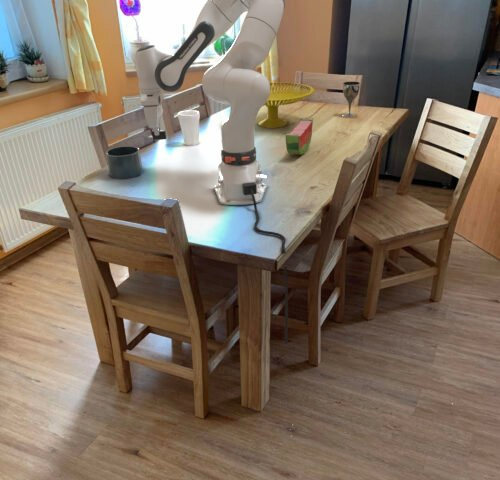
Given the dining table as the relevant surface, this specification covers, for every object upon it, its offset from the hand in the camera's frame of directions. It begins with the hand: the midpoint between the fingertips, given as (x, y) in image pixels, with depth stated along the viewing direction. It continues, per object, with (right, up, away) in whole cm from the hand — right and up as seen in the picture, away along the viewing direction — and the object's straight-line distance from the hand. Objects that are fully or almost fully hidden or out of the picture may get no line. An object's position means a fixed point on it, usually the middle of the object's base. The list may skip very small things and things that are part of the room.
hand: (157, 133), depth 200 cm
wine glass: (+86, +32, +60) cm, 110 cm away
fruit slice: (+57, -1, +17) cm, 59 cm away
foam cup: (+10, +8, +32) cm, 34 cm away
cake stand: (+47, +26, +53) cm, 76 cm away
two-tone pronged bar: (-1, -2, +1) cm, 2 cm away
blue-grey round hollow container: (-13, -14, +3) cm, 19 cm away
